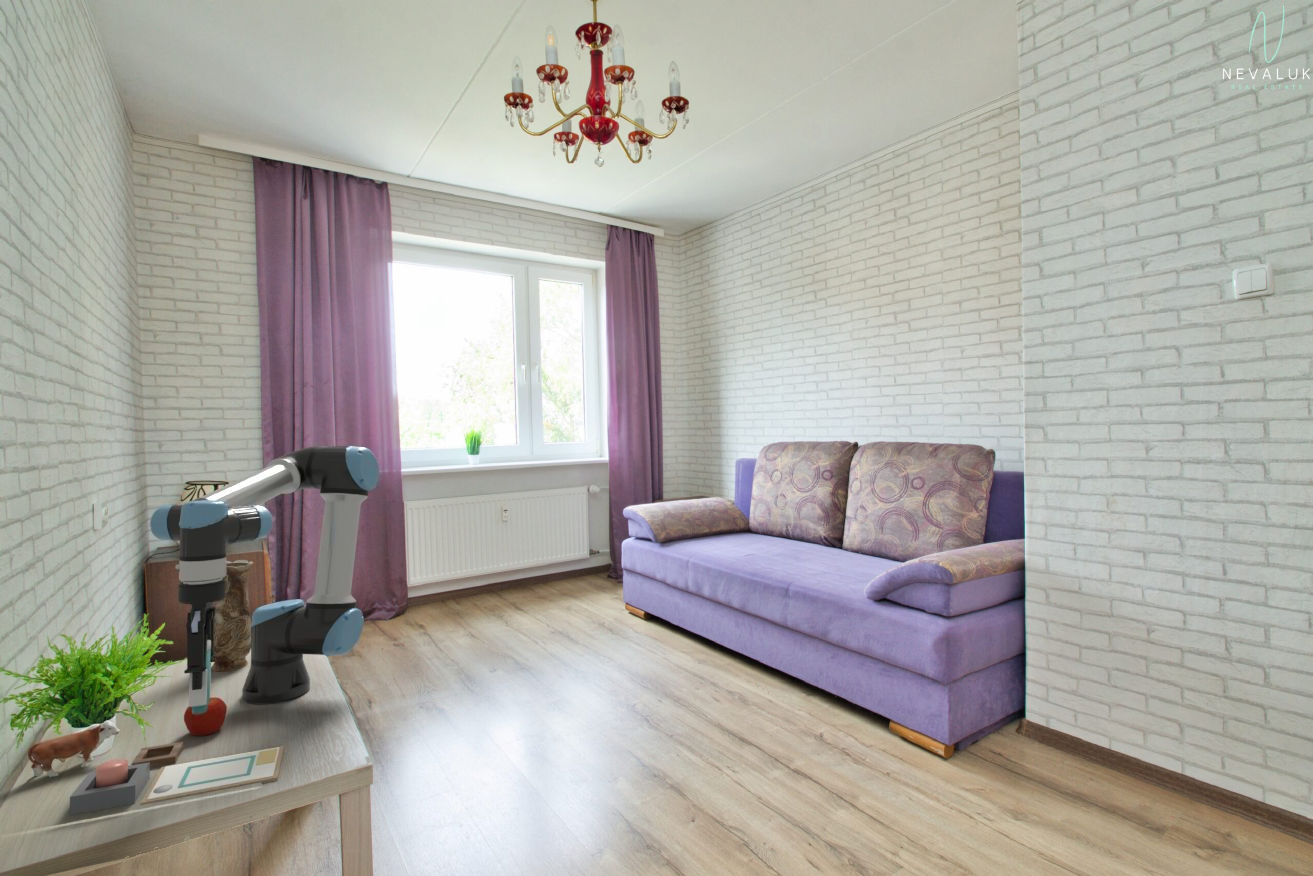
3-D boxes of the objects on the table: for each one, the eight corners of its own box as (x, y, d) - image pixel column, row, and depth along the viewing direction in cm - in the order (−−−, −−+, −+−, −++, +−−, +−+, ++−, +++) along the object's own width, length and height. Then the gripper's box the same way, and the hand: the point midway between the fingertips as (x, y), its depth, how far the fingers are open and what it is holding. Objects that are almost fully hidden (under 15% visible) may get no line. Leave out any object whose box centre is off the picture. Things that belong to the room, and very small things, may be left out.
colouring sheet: (161, 769, 126) (161, 765, 126) (284, 748, 135) (284, 744, 135) (140, 806, 113) (140, 801, 113) (277, 780, 122) (277, 775, 122)
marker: (210, 707, 125) (212, 639, 126) (207, 713, 123) (209, 643, 123) (191, 710, 124) (193, 640, 124) (188, 716, 121) (189, 645, 121)
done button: (100, 778, 117) (101, 762, 117) (130, 773, 118) (131, 757, 119) (91, 790, 113) (92, 773, 113) (123, 784, 115) (123, 768, 115)
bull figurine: (120, 760, 129) (121, 720, 129) (27, 786, 119) (28, 743, 119) (116, 753, 132) (117, 714, 132) (25, 778, 122) (26, 735, 122)
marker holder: (141, 757, 131) (141, 748, 131) (183, 750, 134) (183, 741, 134) (131, 773, 124) (131, 763, 124) (175, 765, 127) (175, 756, 127)
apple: (189, 745, 136) (190, 708, 136) (178, 734, 141) (179, 699, 141) (231, 732, 142) (232, 697, 142) (219, 722, 147) (219, 688, 147)
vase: (238, 657, 191) (240, 558, 191) (260, 663, 186) (261, 561, 186) (200, 668, 182) (202, 563, 182) (221, 675, 177) (223, 567, 177)
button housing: (88, 791, 118) (89, 772, 118) (149, 780, 122) (149, 762, 122) (69, 817, 110) (70, 796, 110) (135, 805, 113) (135, 785, 113)
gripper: (188, 574, 129) (185, 690, 129) (168, 590, 115) (165, 721, 114) (232, 571, 133) (229, 684, 132) (217, 586, 118) (215, 713, 118)
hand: (199, 701), depth 123 cm, fingers closed on marker, 3 cm apart
